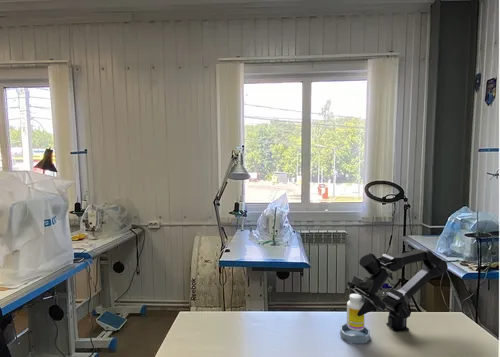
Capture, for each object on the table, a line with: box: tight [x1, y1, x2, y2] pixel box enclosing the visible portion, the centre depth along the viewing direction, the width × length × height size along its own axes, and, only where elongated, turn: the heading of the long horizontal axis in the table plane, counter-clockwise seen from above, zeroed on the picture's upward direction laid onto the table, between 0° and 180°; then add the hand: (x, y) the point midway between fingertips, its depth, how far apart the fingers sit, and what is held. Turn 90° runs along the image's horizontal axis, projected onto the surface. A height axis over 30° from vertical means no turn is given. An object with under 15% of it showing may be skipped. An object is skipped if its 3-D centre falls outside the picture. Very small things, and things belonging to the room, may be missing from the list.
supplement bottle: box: [346, 293, 365, 331], centre depth 130 cm, size 7×7×13 cm
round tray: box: [339, 322, 371, 345], centre depth 131 cm, size 11×11×2 cm
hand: (352, 311), depth 130 cm, fingers closed on supplement bottle, 7 cm apart
